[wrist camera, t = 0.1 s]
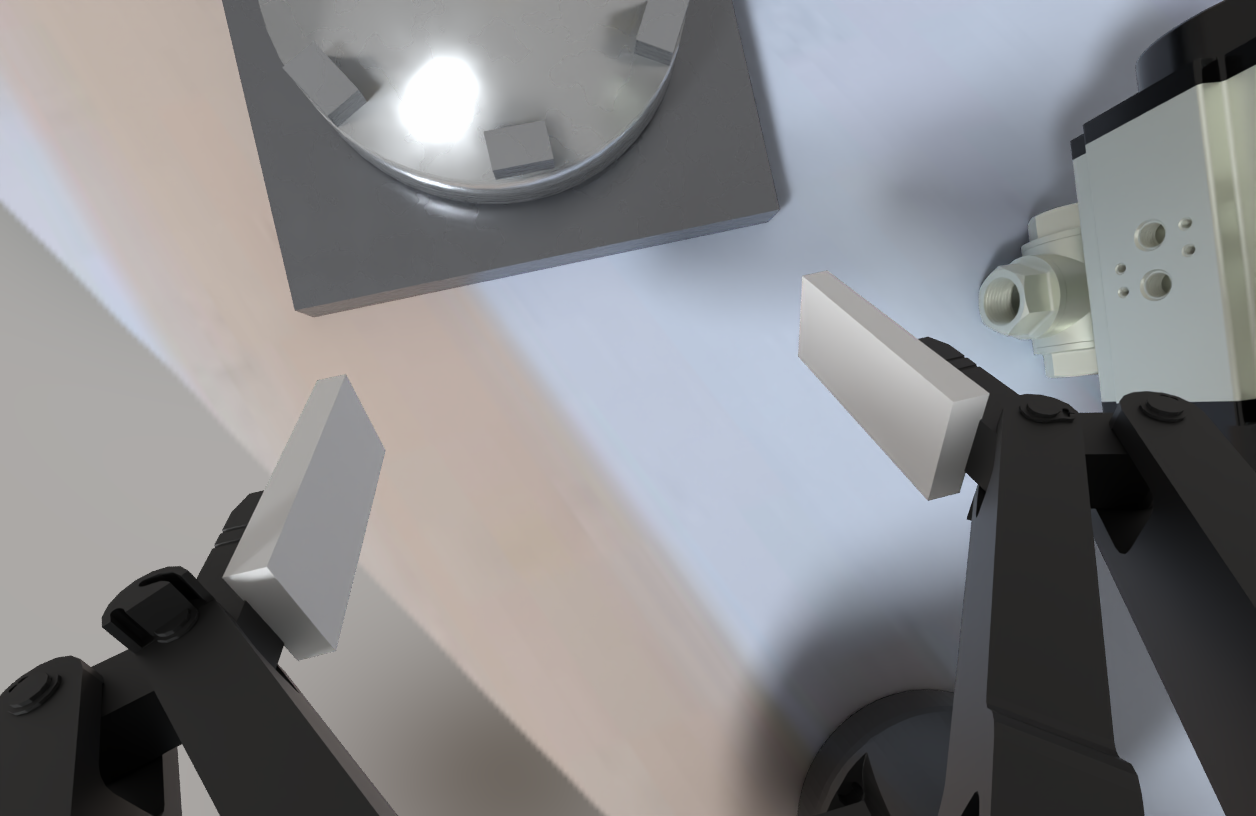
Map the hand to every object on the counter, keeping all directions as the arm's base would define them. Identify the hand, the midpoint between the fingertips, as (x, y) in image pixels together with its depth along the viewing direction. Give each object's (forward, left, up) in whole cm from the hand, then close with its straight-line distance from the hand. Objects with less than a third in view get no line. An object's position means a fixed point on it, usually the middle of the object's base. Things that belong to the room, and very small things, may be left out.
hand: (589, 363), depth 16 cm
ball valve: (-1, -27, -16) cm, 32 cm away
